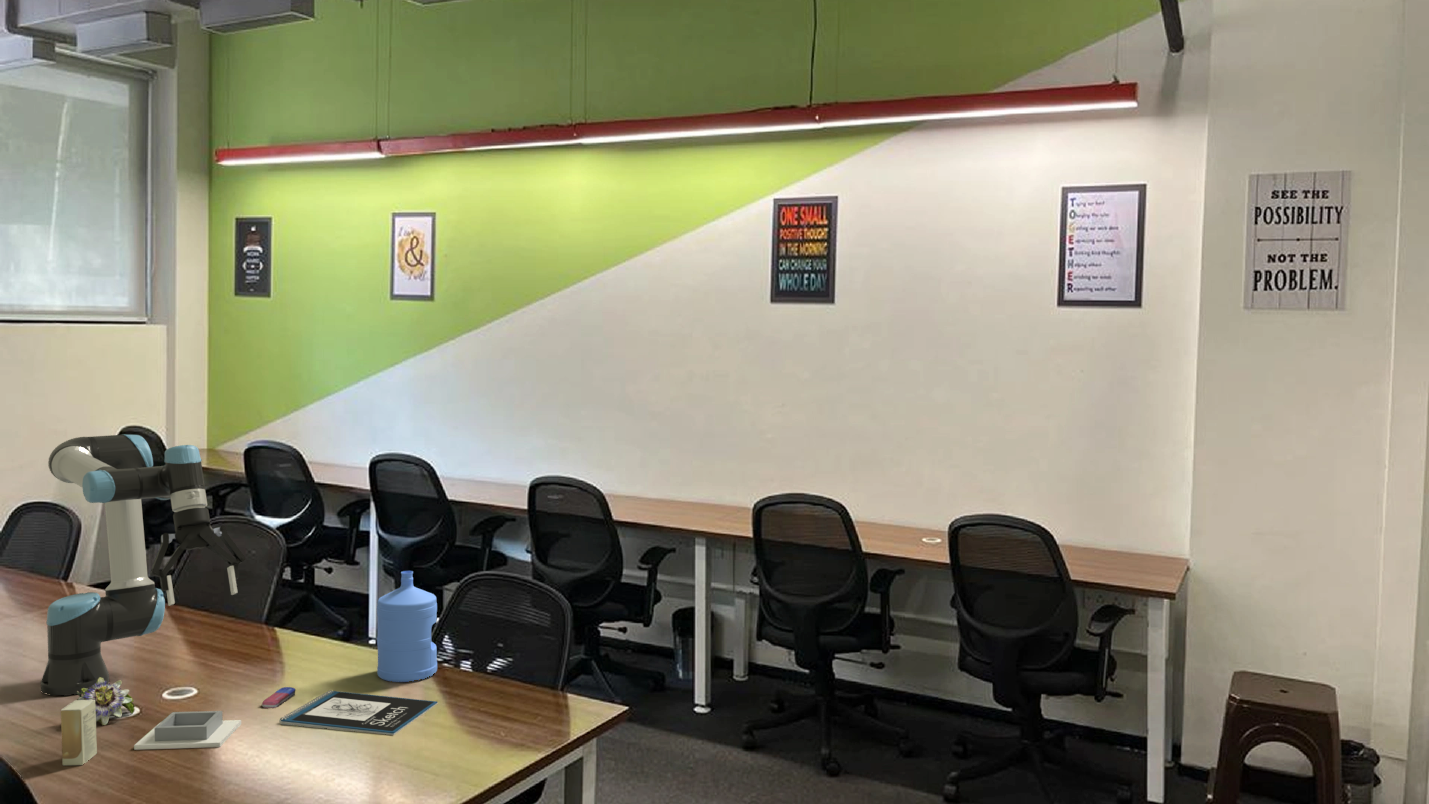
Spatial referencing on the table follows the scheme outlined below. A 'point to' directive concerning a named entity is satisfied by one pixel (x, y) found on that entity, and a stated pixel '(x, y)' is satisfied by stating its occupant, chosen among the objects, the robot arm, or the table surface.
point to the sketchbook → (358, 712)
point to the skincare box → (78, 732)
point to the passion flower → (107, 699)
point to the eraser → (279, 697)
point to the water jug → (406, 633)
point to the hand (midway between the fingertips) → (203, 599)
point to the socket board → (189, 731)
